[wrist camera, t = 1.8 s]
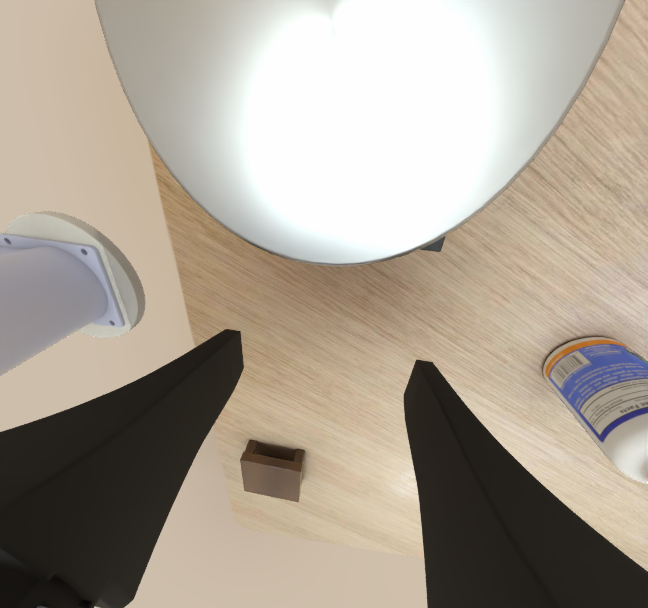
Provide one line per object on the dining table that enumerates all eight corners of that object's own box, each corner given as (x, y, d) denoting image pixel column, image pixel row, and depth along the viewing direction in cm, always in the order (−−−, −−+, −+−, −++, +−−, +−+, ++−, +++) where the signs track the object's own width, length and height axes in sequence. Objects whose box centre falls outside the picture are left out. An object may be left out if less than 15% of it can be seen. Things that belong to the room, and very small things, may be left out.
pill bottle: (630, 376, 19) (831, 539, 11) (548, 395, 21) (665, 547, 13) (620, 322, 18) (854, 471, 9) (531, 350, 20) (657, 492, 11)
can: (281, 194, 10) (151, 246, 4) (282, 8, 7) (-81, -662, 1) (412, 209, 10) (495, 293, 3) (460, 17, 7) (1047, -866, 1)
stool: (251, 470, 34) (244, 491, 32) (248, 439, 31) (239, 460, 29) (302, 480, 34) (298, 502, 32) (305, 450, 30) (301, 472, 28)
